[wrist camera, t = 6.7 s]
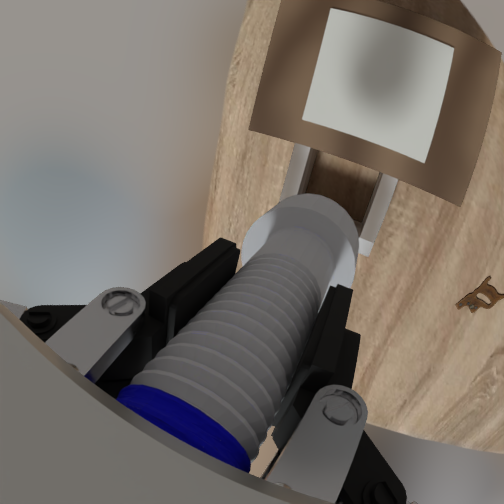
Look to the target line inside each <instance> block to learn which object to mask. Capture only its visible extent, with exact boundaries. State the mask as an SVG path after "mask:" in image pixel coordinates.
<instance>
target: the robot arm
mask: <svg viewBox="0 0 504 504" xmlns="http://www.w3.org/2000/svg"><path fill="white" fill-rule="evenodd" d="M239 254H240V249H237V248H236V243H233V242H231V241H228V240H226V239H223V238H219V239H218V240H216V241H215V242H214V243H212V244H211V245H209V246H208V247H207V248H205V249H204V250H202V251H201V252H200V253H198V254H197V255H196V256H194V257H193V258H192V259H191V260H189V261H187V262H184V263H182V264H180V265H179V266H177V267H176V268H175V269H173V270H172V271H171V272H169V273H168V274H166V275H165V276H164V277H162V278H161V279H160V280H158V281H157V282H156V283H154V284H153V285H152V286H150V287H149V288H147V289H146V290H145V291H143V292H142V293H141V294H140V293H138V292H137V291H135V290H133V289H130V288H124V287H116V288H111V289H108V290H105V291H104V292H102V293H101V294H99V295H98V296H97V297H96V298H95V299H94V300H92V301H91V302H90V303H89V304H88V305H41V306H35V307H32V308H30V309H27V307H25V306H21V305H18V304H13V303H10V302H6V301H2V300H0V504H418V503H417V502H415V501H414V502H412V503H410V502H409V501H407V496H406V490H405V488H404V486H403V484H402V483H401V482H400V480H399V479H398V477H397V476H396V475H395V473H394V472H393V470H392V469H391V468H390V466H389V465H388V463H387V462H386V461H385V459H384V458H383V457H382V455H381V454H380V452H379V451H378V449H377V448H376V447H375V445H374V444H373V442H372V441H371V440H370V438H369V437H368V435H367V434H366V432H365V431H364V430H363V429H364V426H365V423H366V420H367V414H368V411H367V407H366V404H365V402H364V400H363V399H362V397H361V396H360V395H359V394H358V393H356V392H355V391H353V390H352V384H353V379H354V373H355V368H356V362H357V356H358V350H359V344H360V336H361V335H360V334H358V333H356V332H353V331H350V330H348V329H345V326H346V322H347V317H348V312H349V308H350V303H351V298H352V293H353V289H350V288H348V287H345V286H343V285H340V284H337V286H336V287H333V286H331V285H330V287H329V289H328V292H327V294H326V296H325V299H324V301H323V303H322V306H321V308H320V310H319V313H318V315H317V317H316V319H315V323H314V325H313V327H312V331H311V333H310V335H309V339H308V341H307V343H306V345H305V349H304V351H303V353H302V355H301V359H300V361H299V363H298V365H297V368H296V371H295V373H294V375H293V377H292V380H291V383H290V385H289V387H288V388H287V391H286V394H285V396H284V398H283V400H282V402H281V405H280V409H279V411H278V412H277V414H276V415H275V417H274V422H273V424H272V425H273V426H275V428H274V431H273V433H272V435H271V436H273V440H274V442H275V444H276V446H277V448H278V450H277V452H276V454H275V455H274V457H273V458H272V460H271V461H270V463H269V465H268V466H267V468H266V469H265V471H264V472H263V474H262V475H261V477H260V478H259V477H256V476H254V475H251V474H249V473H247V472H244V471H242V470H240V469H237V468H235V467H233V466H231V465H229V464H226V463H224V462H222V461H220V460H218V459H216V458H214V457H212V456H210V455H208V454H206V453H204V452H202V451H200V450H198V449H196V448H194V447H192V446H190V445H188V444H187V443H185V442H183V441H181V440H179V439H178V438H176V437H174V436H172V435H170V434H169V433H167V432H165V431H164V430H162V429H160V428H159V427H157V426H155V425H154V424H152V423H150V422H149V421H147V420H146V419H144V418H142V417H141V416H139V415H138V414H136V413H135V412H133V411H132V410H130V409H129V408H127V407H126V406H124V405H123V404H121V403H120V402H118V401H117V400H115V399H117V397H118V395H119V392H120V391H121V390H122V389H123V388H124V387H126V386H128V385H130V383H131V381H132V379H133V377H134V376H135V375H137V374H138V373H140V372H142V371H143V369H144V367H145V366H146V364H147V363H148V362H150V361H151V360H153V359H154V358H155V357H156V355H157V353H158V352H159V351H160V350H161V349H163V348H165V347H166V346H167V344H168V342H169V341H170V340H171V339H172V338H174V337H175V336H176V335H177V334H178V332H179V331H180V330H181V329H182V328H183V327H185V326H186V325H187V323H188V322H189V321H190V320H191V319H192V318H193V317H195V316H196V314H197V313H198V311H199V310H201V309H202V308H203V307H204V306H205V305H206V303H207V302H208V301H210V300H211V299H212V298H213V296H214V295H215V294H216V293H218V292H219V291H220V289H221V288H222V287H223V286H224V285H226V283H227V282H228V281H229V280H230V279H231V278H232V277H233V276H234V275H235V272H236V267H237V263H238V259H239Z"/></svg>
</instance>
